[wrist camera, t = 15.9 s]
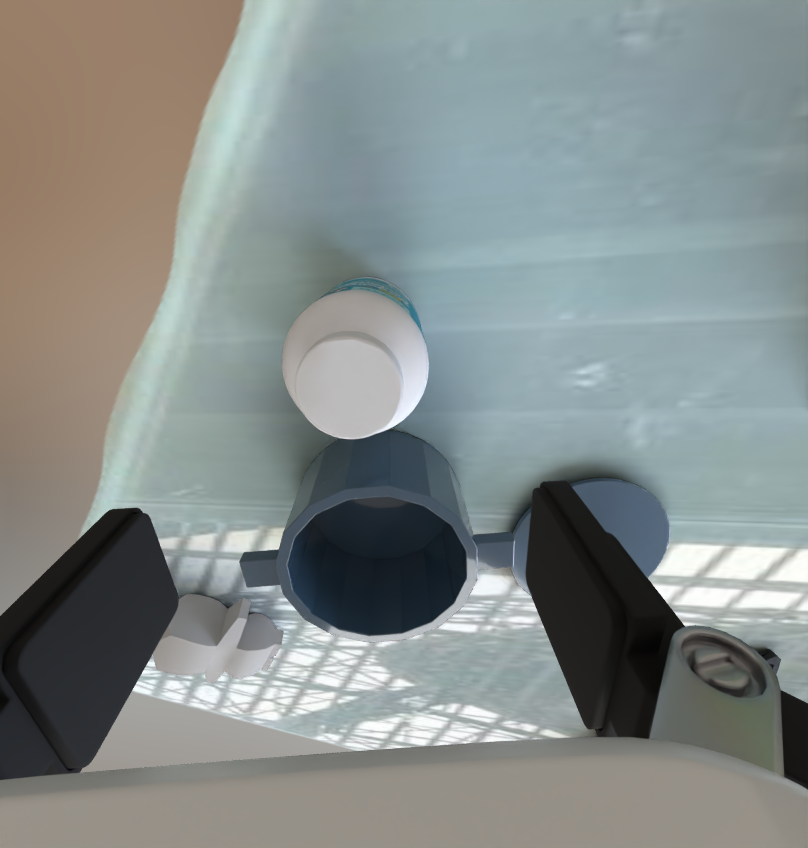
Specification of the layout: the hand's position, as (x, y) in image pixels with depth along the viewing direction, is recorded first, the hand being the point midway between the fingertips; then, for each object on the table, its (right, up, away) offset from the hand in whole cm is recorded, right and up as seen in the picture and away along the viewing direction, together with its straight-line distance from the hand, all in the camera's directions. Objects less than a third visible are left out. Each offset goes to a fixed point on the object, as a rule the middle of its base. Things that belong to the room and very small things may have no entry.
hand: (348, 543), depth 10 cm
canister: (-1, -4, +26) cm, 26 cm away
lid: (+18, -8, +28) cm, 34 cm away
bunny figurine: (-18, -15, +31) cm, 39 cm away
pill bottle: (-1, +10, +20) cm, 22 cm away
